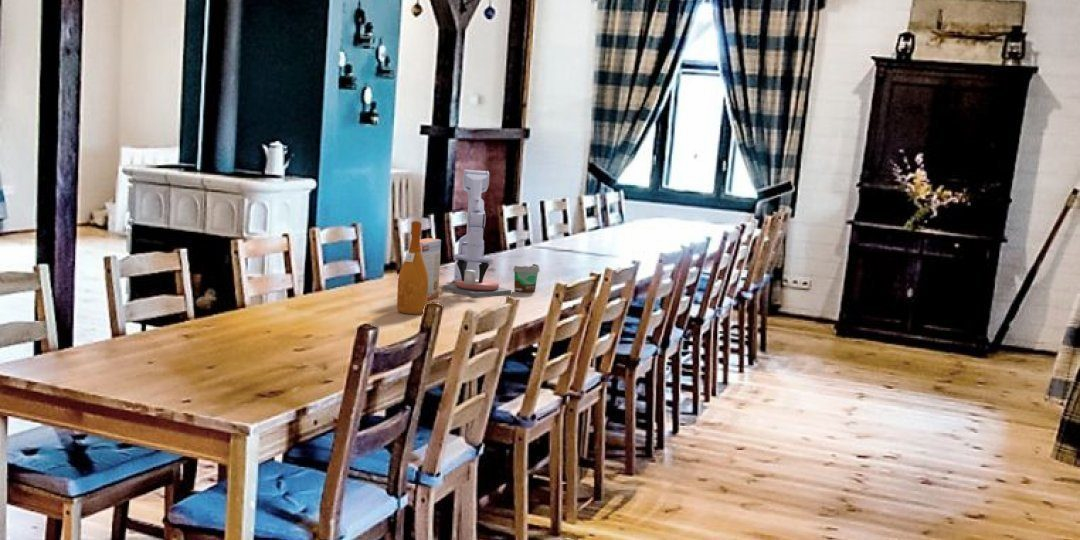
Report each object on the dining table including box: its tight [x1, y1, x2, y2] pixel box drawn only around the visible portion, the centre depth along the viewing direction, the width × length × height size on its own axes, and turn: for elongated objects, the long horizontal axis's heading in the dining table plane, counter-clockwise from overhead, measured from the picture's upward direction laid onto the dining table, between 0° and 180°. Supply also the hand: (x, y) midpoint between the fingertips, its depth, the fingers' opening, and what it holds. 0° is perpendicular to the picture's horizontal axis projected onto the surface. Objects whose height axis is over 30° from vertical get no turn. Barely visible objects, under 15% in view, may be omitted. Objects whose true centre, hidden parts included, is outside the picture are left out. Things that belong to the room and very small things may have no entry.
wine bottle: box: [396, 220, 428, 315], centre depth 356 cm, size 10×10×30 cm
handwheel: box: [455, 270, 500, 290], centre depth 405 cm, size 16×16×6 cm
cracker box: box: [408, 237, 442, 301], centre depth 381 cm, size 14×6×21 cm, turn 158°
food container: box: [513, 263, 541, 294], centre depth 413 cm, size 12×6×10 cm, turn 143°
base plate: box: [442, 283, 512, 299], centre depth 406 cm, size 18×18×2 cm
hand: (471, 281), depth 399 cm, fingers open, 6 cm apart
